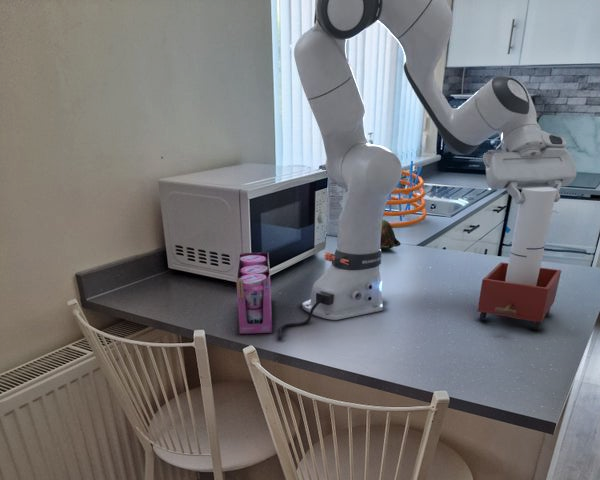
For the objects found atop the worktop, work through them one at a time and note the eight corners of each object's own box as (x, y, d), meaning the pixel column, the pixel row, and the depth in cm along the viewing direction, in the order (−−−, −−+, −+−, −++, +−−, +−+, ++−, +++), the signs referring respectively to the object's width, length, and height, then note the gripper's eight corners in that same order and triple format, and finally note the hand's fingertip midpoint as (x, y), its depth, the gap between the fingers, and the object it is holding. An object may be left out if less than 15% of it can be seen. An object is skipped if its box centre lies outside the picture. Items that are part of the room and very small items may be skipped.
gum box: (272, 335, 126) (270, 279, 119) (238, 336, 126) (234, 280, 119) (271, 301, 147) (269, 251, 140) (242, 302, 147) (238, 252, 140)
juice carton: (339, 237, 210) (341, 162, 196) (316, 234, 215) (316, 161, 201) (349, 232, 217) (351, 160, 203) (326, 230, 221) (327, 159, 208)
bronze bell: (336, 224, 189) (379, 203, 192) (339, 249, 198) (380, 229, 201) (362, 249, 180) (407, 227, 182) (364, 274, 189) (406, 253, 192)
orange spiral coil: (436, 217, 244) (446, 161, 230) (406, 239, 220) (415, 178, 206) (368, 204, 259) (373, 151, 245) (333, 223, 235) (336, 165, 220)
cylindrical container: (535, 302, 127) (559, 191, 115) (504, 301, 129) (524, 191, 116) (530, 293, 134) (553, 186, 121) (500, 291, 135) (520, 185, 122)
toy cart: (533, 342, 120) (543, 295, 115) (468, 330, 127) (475, 285, 122) (551, 312, 136) (561, 270, 131) (493, 303, 143) (500, 262, 138)
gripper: (487, 140, 118) (501, 194, 115) (572, 138, 121) (588, 190, 118) (475, 160, 124) (488, 212, 121) (556, 157, 127) (571, 208, 124)
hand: (538, 201), depth 119 cm, fingers closed on cylindrical container, 7 cm apart
